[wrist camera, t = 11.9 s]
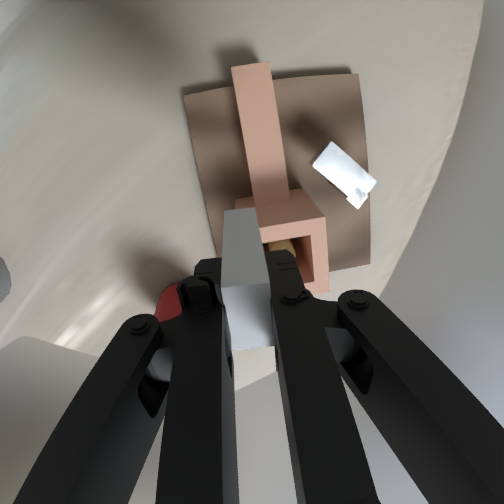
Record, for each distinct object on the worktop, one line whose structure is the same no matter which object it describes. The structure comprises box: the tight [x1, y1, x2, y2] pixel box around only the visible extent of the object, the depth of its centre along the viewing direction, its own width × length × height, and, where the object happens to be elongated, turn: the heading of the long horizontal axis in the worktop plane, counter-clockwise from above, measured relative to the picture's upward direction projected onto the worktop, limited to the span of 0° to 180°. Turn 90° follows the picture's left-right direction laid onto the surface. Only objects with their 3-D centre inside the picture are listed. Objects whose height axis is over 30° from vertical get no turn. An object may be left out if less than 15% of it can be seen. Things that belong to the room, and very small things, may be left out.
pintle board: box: [183, 74, 370, 272], centre depth 27 cm, size 20×16×8 cm
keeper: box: [309, 139, 377, 209], centre depth 27 cm, size 3×5×7 cm, turn 54°
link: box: [231, 62, 330, 295], centre depth 25 cm, size 18×6×8 cm, turn 9°
